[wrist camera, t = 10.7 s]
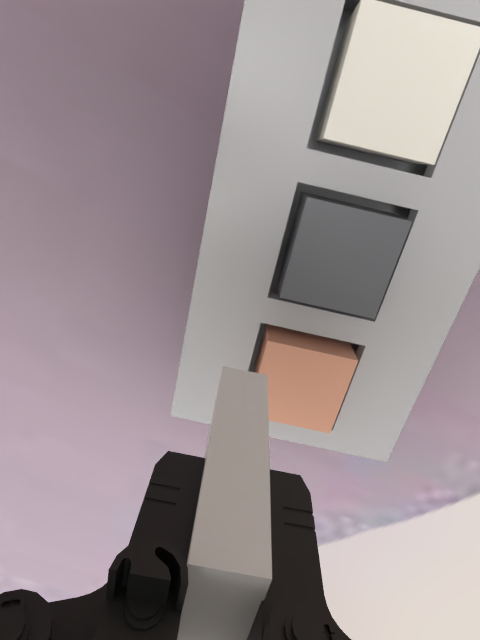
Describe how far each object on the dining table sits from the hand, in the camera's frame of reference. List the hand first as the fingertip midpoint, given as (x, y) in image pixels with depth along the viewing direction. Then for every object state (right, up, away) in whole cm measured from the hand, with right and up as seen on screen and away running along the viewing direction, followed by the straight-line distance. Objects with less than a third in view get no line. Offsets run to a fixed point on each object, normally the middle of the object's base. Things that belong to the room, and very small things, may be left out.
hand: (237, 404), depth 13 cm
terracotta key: (+4, 0, +10) cm, 11 cm away
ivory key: (+7, +13, +5) cm, 15 cm away
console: (+5, +8, +11) cm, 15 cm away
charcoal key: (+5, +7, +8) cm, 12 cm away
